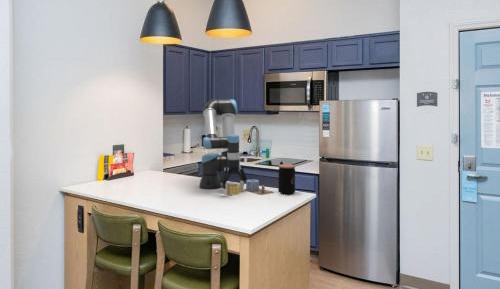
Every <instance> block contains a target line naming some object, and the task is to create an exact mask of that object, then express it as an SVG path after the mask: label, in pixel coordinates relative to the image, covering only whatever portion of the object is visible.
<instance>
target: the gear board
mask: <svg viewBox="0 0 500 289" xmlns="http://www.w3.org/2000/svg"><path fill="white" fill-rule="evenodd" d="M243 192H248V193H252V194H256V195H260V196H264V195H269V194H274V193H275V191H273V190H268V189H265V185H264V184H262V185H261V188H260V187H259V190H258V191H257V190H256V191H249V190H246V188H244V191H243Z"/></svg>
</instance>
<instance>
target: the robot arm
mask: <svg viewBox="0 0 500 289" xmlns="http://www.w3.org/2000/svg"><path fill="white" fill-rule="evenodd" d="M237 115H238V105H237V102H236V100H235V99H232V98H231V99H230V98H226V99H225V98H222V99H221V98H217V99H216V98H214V99H211V100H209V101H208V102H207V103H206V104H205V105H204V107H203V109H202V116H203V117H204V125H205V126H204V127H205V129H204V130H205V137H203V139H202V142H203V148H204V149H205V150H215V149H217V150H218V149H222V151H221V153H220V154H219V152H211V153H206V154H203V155H202V156H201V178H200V181H199V188H200V189H204V190H214V189H216V190H217V189H220V188H221V187H222V189H223V190H222V191H223V192H222V194H224V195H228V193H227V185H228V184H227V182H228V181H229V178H230V177H231V176H232V175H237V177H238V178H239V179H240V180H239V185H241V192H245V191H244V189H245V187H244V186H245V182H246V180H248V177H247V175H246V172H245V170H244V166H243V165H241V155H240V136H239V134H235V119H236V117H237ZM216 116H219V119H220V120H221V130H222V131H221V134H222V136H218V131H217V130H218V129H217V120H216ZM219 172H220V173H222V174H221V177H220V176H219V174H220V173H219Z"/></svg>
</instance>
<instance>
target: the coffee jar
mask: <svg viewBox="0 0 500 289" xmlns="http://www.w3.org/2000/svg"><path fill="white" fill-rule="evenodd" d="M295 168H296V165H295V164H291V163H290V164H287V163H282V164H279V165H278V193H279V194H281V195H284V194H285V195H287V196H288V195H289V196H290V195H294V194H295V193H296V169H295ZM285 195H284V196H285Z"/></svg>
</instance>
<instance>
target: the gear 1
mask: <svg viewBox="0 0 500 289" xmlns="http://www.w3.org/2000/svg"><path fill="white" fill-rule="evenodd" d="M241 192H242V191H241V185H240V184H237V183H228V184H227V195H229V196H230V197H233V195H240V194H241Z"/></svg>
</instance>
